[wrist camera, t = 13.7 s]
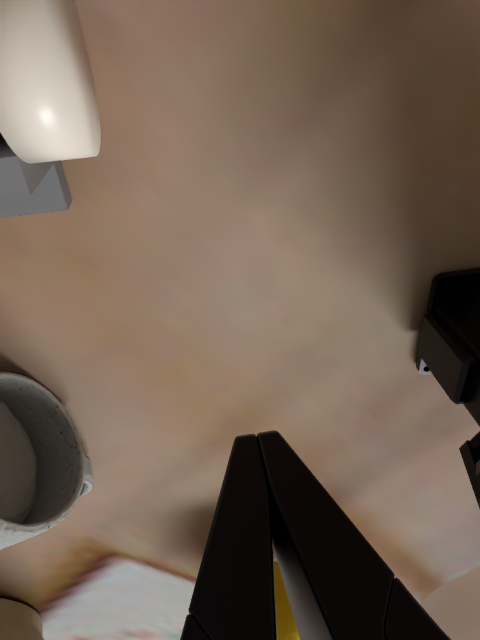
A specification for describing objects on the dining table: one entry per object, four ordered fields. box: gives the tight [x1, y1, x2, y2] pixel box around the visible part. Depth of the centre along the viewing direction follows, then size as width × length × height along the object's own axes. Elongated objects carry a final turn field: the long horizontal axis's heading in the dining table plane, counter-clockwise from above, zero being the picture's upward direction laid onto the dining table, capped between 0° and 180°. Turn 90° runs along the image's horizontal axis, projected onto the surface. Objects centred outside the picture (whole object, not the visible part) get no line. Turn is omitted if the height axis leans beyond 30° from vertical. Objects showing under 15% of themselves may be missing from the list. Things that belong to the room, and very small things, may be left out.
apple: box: [273, 561, 300, 640], centre depth 34 cm, size 6×6×8 cm
